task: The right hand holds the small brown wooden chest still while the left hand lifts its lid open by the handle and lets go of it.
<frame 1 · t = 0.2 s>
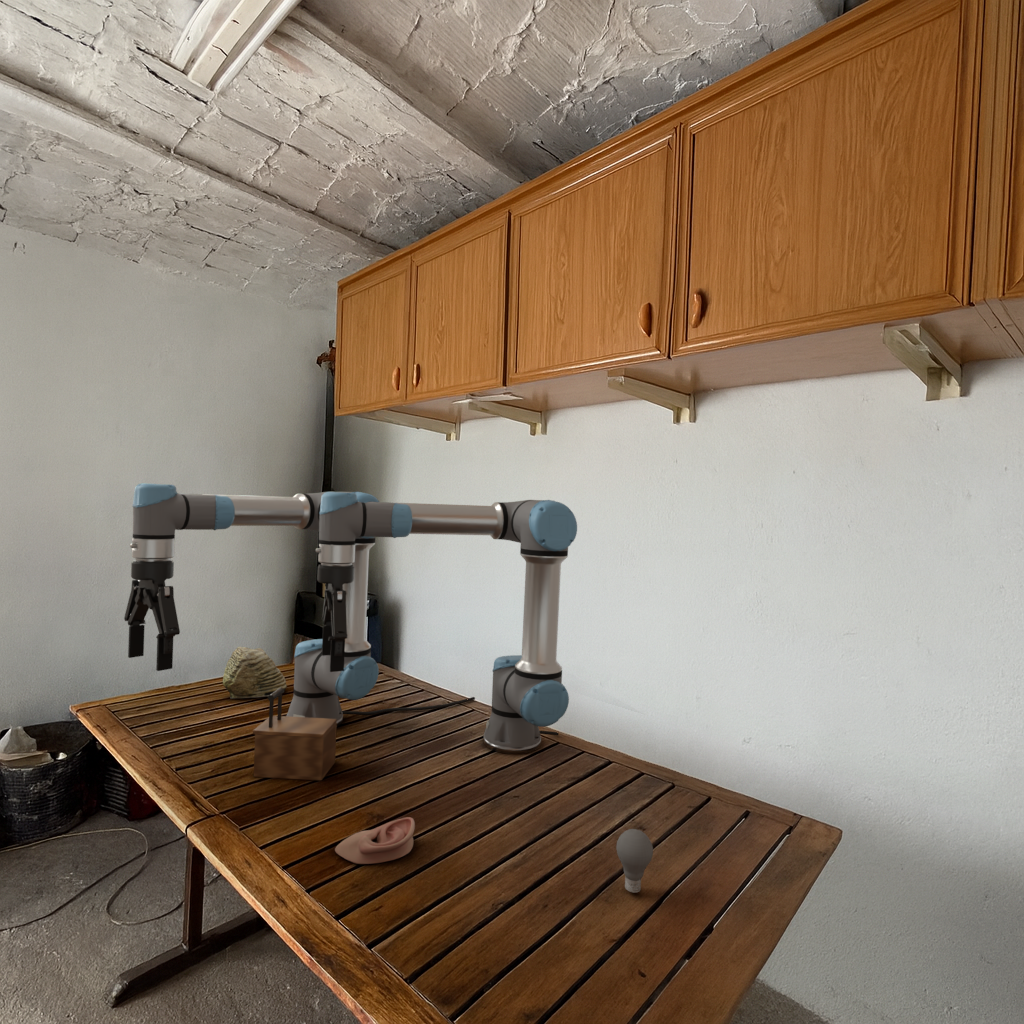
left hand: (149, 663, 129), 28 cm above the table, tool pointing down, fingers open, 13 cm apart
right hand: (332, 662, 136), 28 cm above the table, tool pointing down, fingers open, 13 cm apart
anatomical model: (375, 848, 115), on the table
fossil: (254, 694, 198), on the table
lid: (296, 710, 146), point 14 cm above the table, hinge at 0.0°
chest: (295, 769, 146), on the table
light bulb: (632, 891, 106), on the table
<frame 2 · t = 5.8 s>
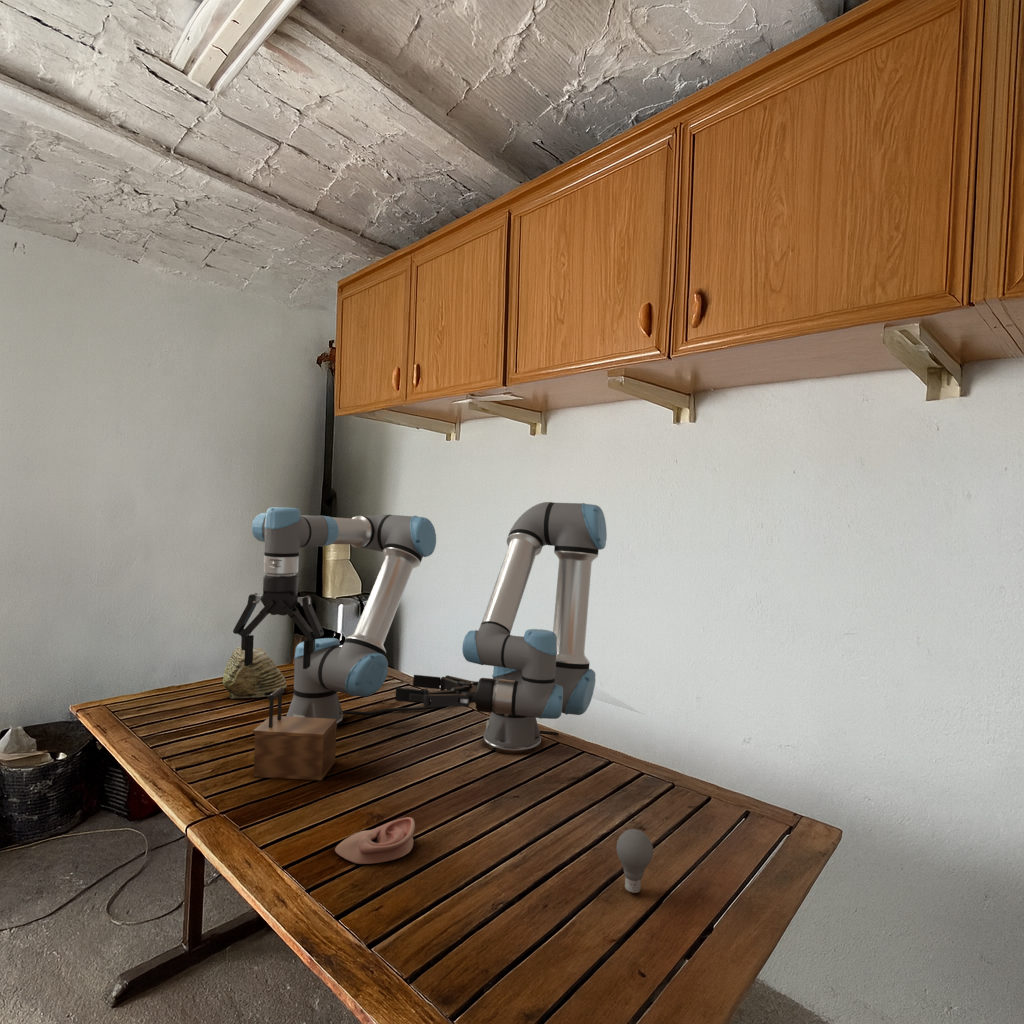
left hand: (277, 666, 146), 24 cm above the table, tool pointing down, fingers open, 13 cm apart
right hand: (405, 686, 148), 20 cm above the table, tool horizontal, fingers open, 13 cm apart
nothing on the table moved.
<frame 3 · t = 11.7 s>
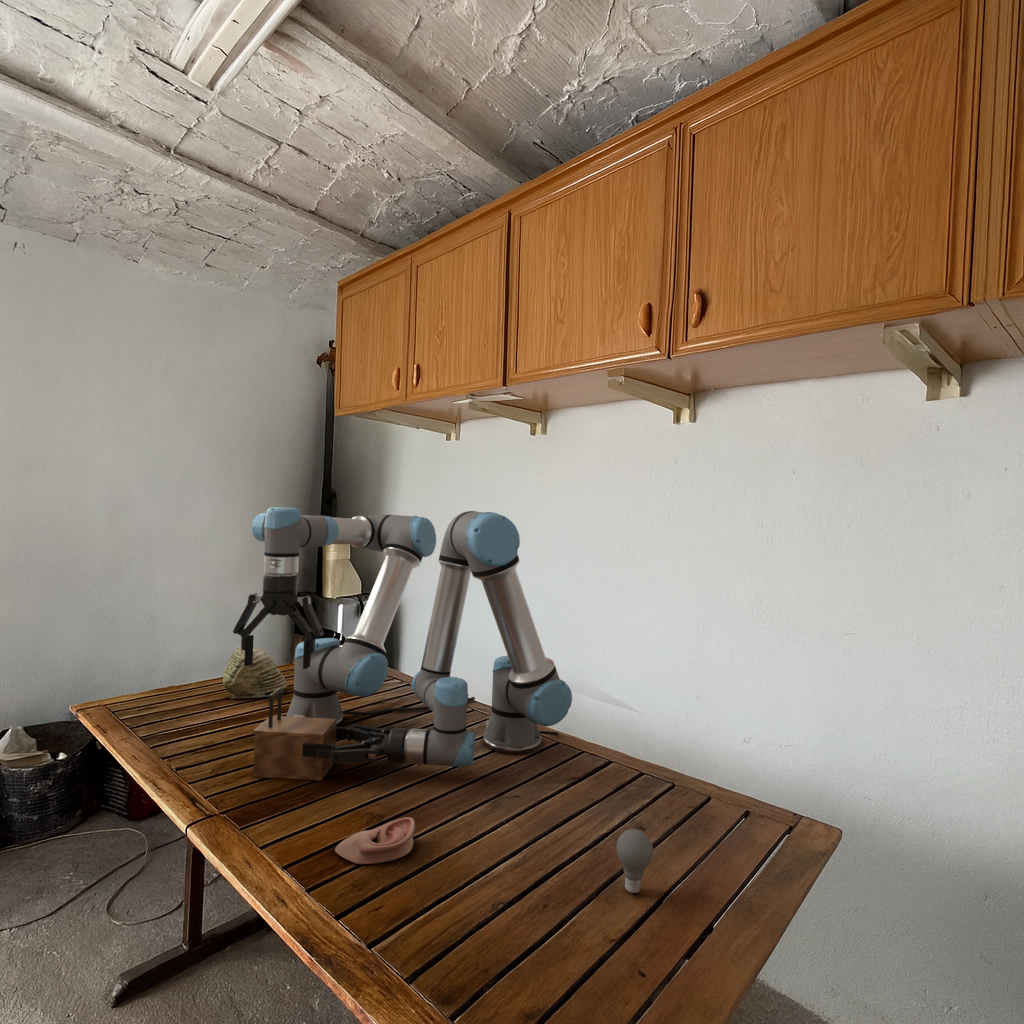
left hand: (277, 666, 146), 24 cm above the table, tool pointing down, fingers open, 13 cm apart
right hand: (311, 740, 146), 7 cm above the table, tool horizontal, fingers closed on chest, 10 cm apart
chest: (295, 769, 146), on the table, touching right hand
everything else where it was.
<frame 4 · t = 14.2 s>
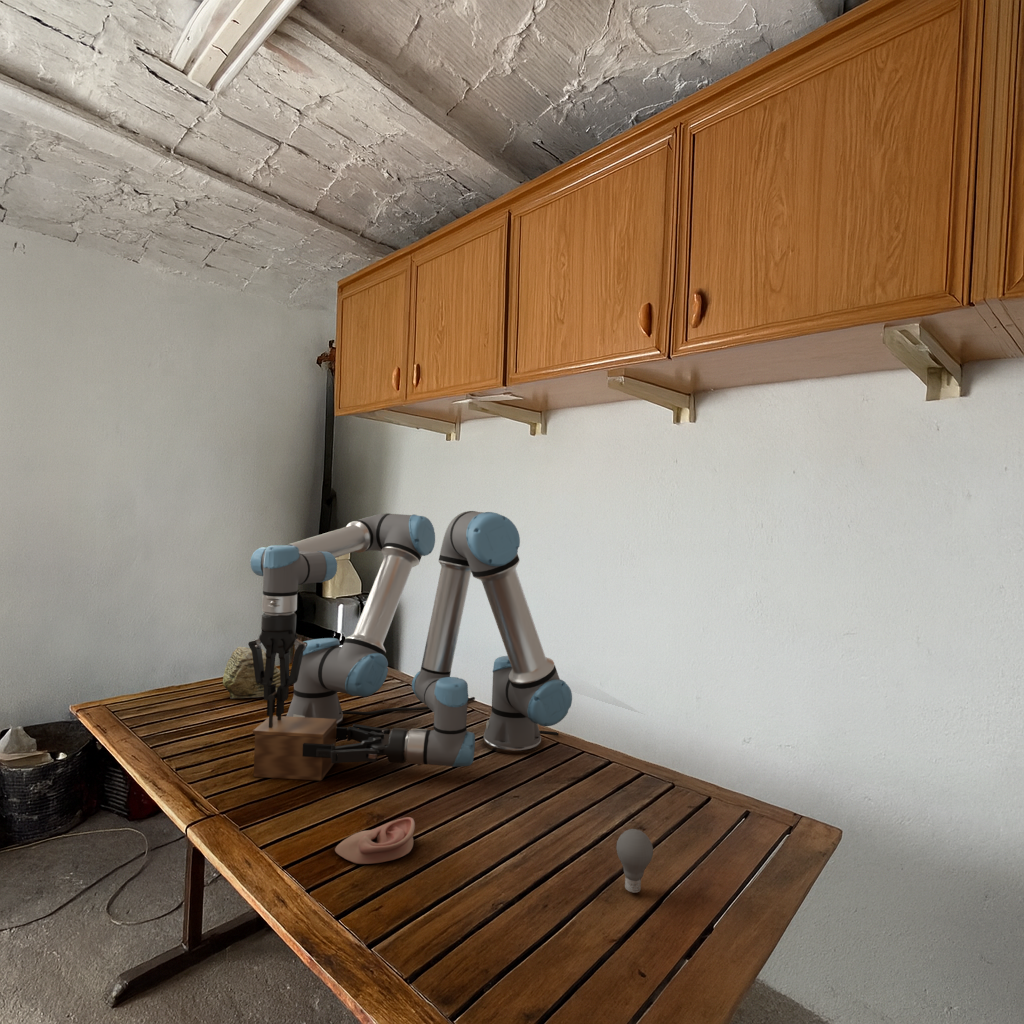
left hand: (275, 713, 146), 13 cm above the table, tool pointing down, fingers closed on lid, 1 cm apart
right hand: (311, 740, 146), 7 cm above the table, tool horizontal, fingers closed on chest, 10 cm apart
lid: (296, 710, 146), point 14 cm above the table, hinge at 0.0°, touching left hand
chest: (295, 769, 146), on the table, touching right hand
everything else where it was.
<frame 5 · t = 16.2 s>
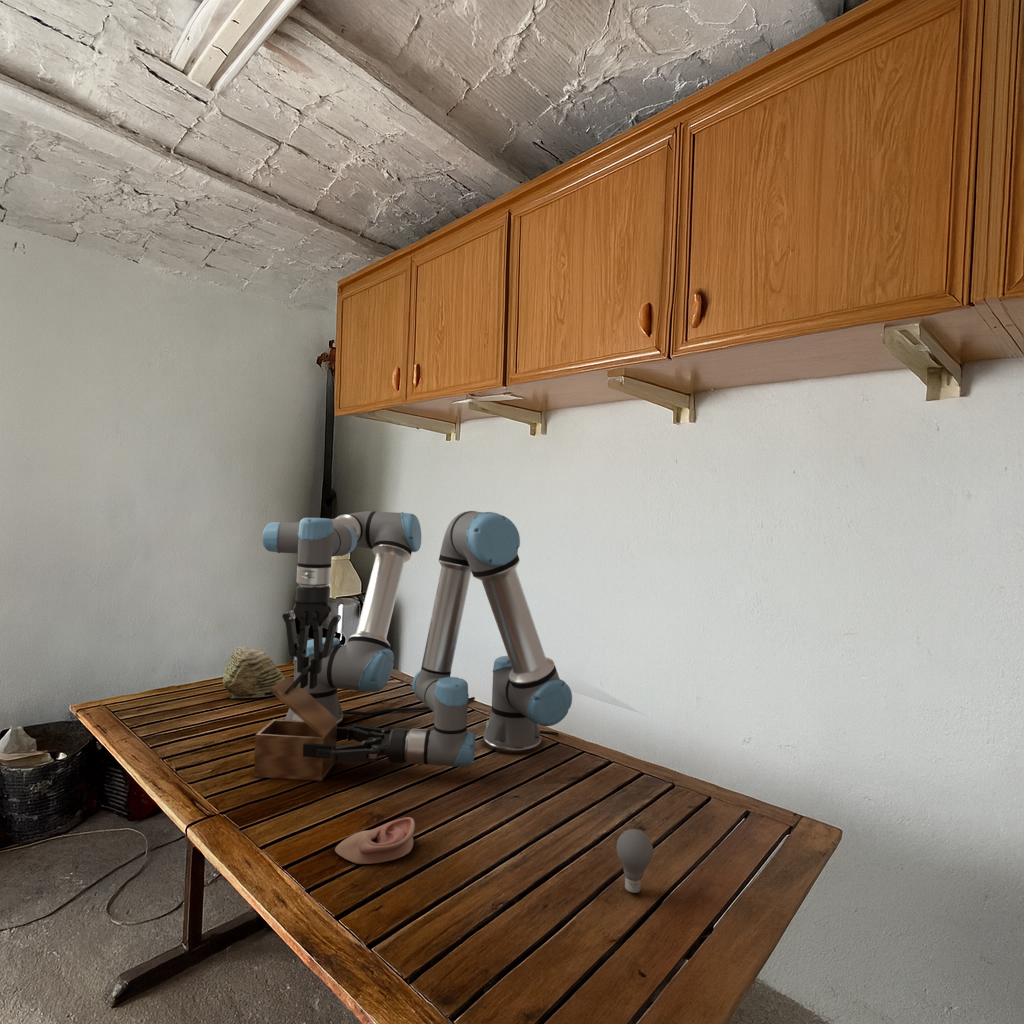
left hand: (308, 686, 146), 19 cm above the table, tool pointing down, fingers closed on lid, 1 cm apart
right hand: (311, 740, 146), 7 cm above the table, tool horizontal, fingers closed on chest, 10 cm apart
lid: (315, 693, 146), point 18 cm above the table, hinge at 39.0°, touching left hand
chest: (296, 769, 146), on the table, touching right hand
everything else where it was.
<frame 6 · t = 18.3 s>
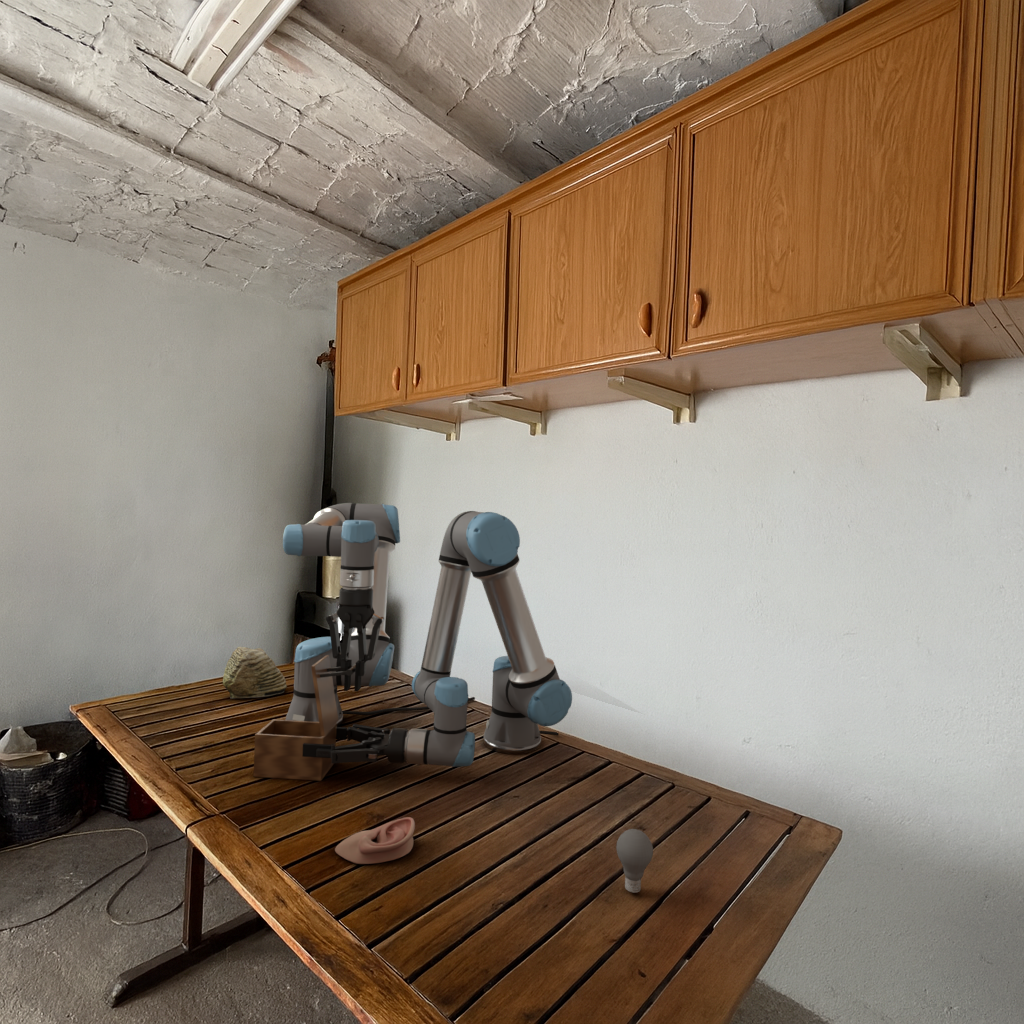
left hand: (352, 689, 146), 19 cm above the table, tool pointing down, fingers closed
right hand: (311, 740, 146), 7 cm above the table, tool horizontal, fingers closed on chest, 10 cm apart
lid: (341, 692, 146), point 18 cm above the table, hinge at 79.4°
chest: (295, 769, 146), on the table, touching right hand
everything else where it was.
when the right hand's fingers open (7 cm above the table, at t = 22.4 s): chest stays where it is, on the table.
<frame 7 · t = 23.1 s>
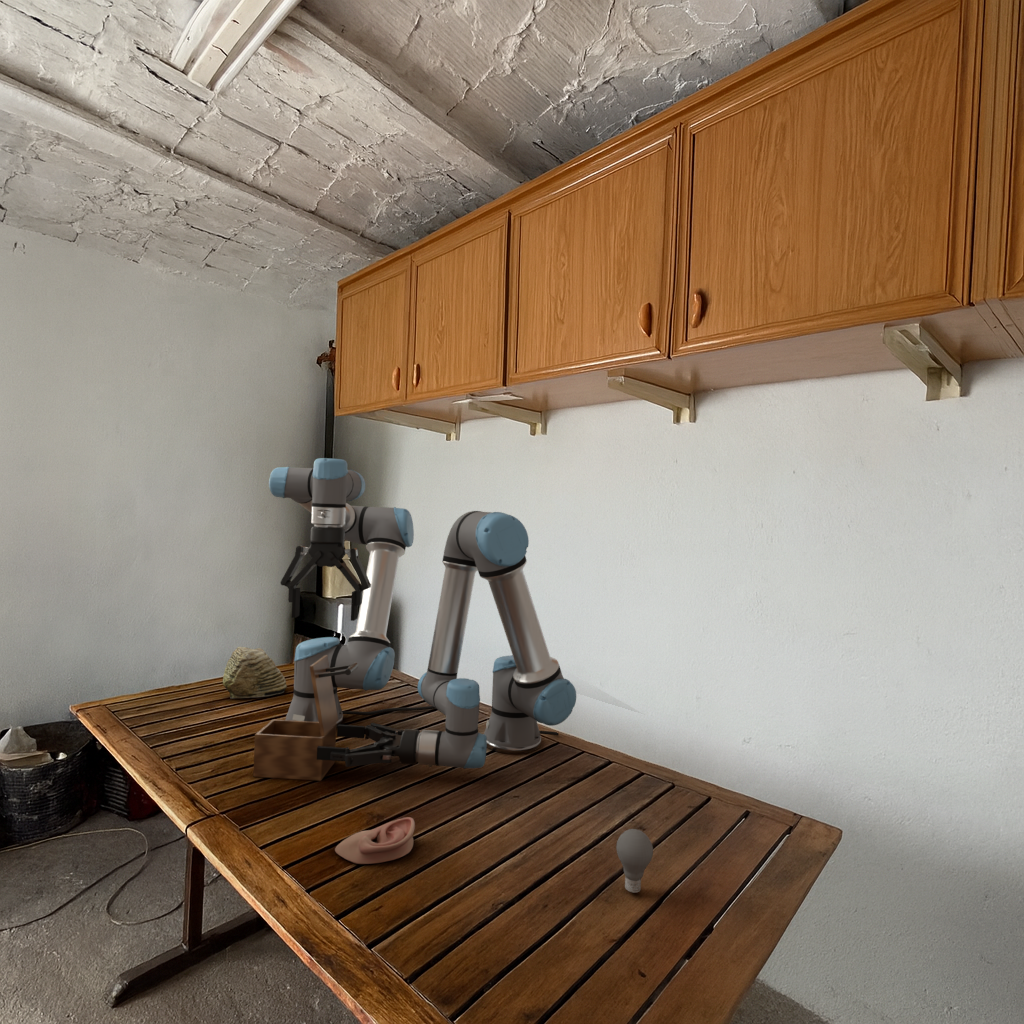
left hand: (324, 618, 146), 35 cm above the table, tool pointing down, fingers open, 13 cm apart
right hand: (327, 741, 146), 7 cm above the table, tool horizontal, fingers open, 13 cm apart
lid: (340, 691, 146), point 19 cm above the table, hinge at 78.3°
chest: (295, 769, 146), on the table
everything else where it was.
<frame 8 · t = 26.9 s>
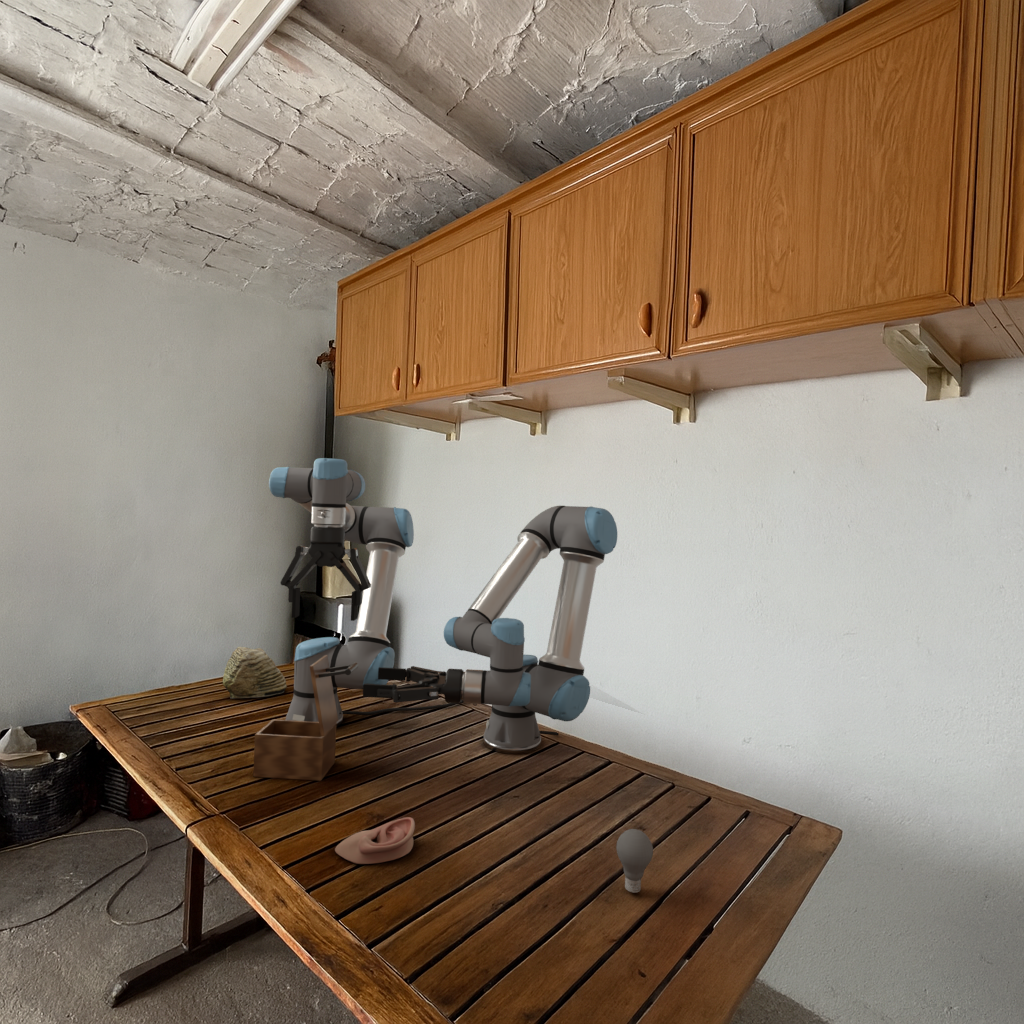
left hand: (324, 618, 146), 35 cm above the table, tool pointing down, fingers open, 13 cm apart
right hand: (371, 681, 145), 21 cm above the table, tool horizontal, fingers open, 13 cm apart
nothing on the table moved.
at the end: lid at +78° (first picture: +0°); the left hand is holding nothing; the right hand is holding nothing; chest tilted 0°; chest never tilted more than 1° during the clip; chest moved 0.1 cm from its start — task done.
